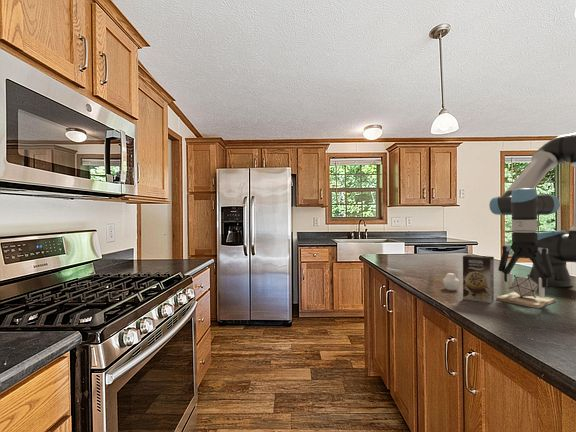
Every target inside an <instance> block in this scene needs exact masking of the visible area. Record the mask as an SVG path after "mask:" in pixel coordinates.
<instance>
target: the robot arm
mask: <svg viewBox="0 0 576 432" xmlns="http://www.w3.org/2000/svg"><path fill="white" fill-rule="evenodd" d="M563 163H569V165H570V166H572V167H573V169H574V190H573V191H574V192H573V195H574V196H573V198H574V199H573V226H572V227H570V228H569V229H568V233H567V231H566V230H554V231H553V230H552V231H543V232H541V231H540V232H537V231H538V216H539V215H543V216H544V215H545V216H547V215H552V214H555V213H556V212H557V211H558V210H559V209H560V204H561V203H560V200H559V198H558V197H557V196H556V195H553V194H548V193H545V194H540V193H539V194H538V192H537V189H536V187H537V186H538V185H539V183H540V182H541V181H542V179H544V177H545V176H546V175H547V174H548V172H549V171H550V170H553V169H555V168H556V167H557V166H558V165H559V164H563ZM488 206H489V210H490V212H491V213H492V214H494V215H499V216H511V231H512V232H511V245H508V244H507V245H502V253H501V258H500V262H499V265H498V272H502V273H503V276H504V277H503V278H504V280H503V281H504V282H505V283H506V291H507V292H508V293H512V292H514V290H513V289H512V288H511V289H509V287H512V284H513V282H514V280H513V279H514V278H513V277H514V275H513V273H511V271H512V270H513V268H514V266H515V265H516V263H517V262H518V260H519V259H520V258H526V259H529V260H530V261H531V262H532V267H531V269H530V271H529V277H530V278H531V279H532V280H533V281H535V282H536V283H537V284H539V286H538V296H539V297H546V294H545V293H546V289H547V288H548V287H556V288H561V287H562V288H563V287H564V288H566V287H567V288H569V287H573V279H572V277H571V275H570V272H569V270H568V267H567V263H576V132H572V133H568V134H561V135H559V136H556V137H554V138H553V139H550V140H549V141H547V142H546V143H544V144H543V145H542V146H541V147H539V148H538V149H537V150H536V151H535V152H534V154H533V155H532V156H531V161H530V162H529V164H528V165H527V166H526V167H525V168H524V169H523V170H522V171H521V172H520V174H519V176H517V178H516V179H515V180H514V181H512V183H511V185H509V187H507V190H506V191H505V192H504V193H502V195H501V196H498V195H497V196H496V197H495V196H494V197H493V198H491V199H490V201H489V205H488ZM511 250H512V251H513V254H512V256H511V258H510V259H509V256H510V251H511ZM508 259H509V262H508ZM507 262H508V263H507Z"/></svg>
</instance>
